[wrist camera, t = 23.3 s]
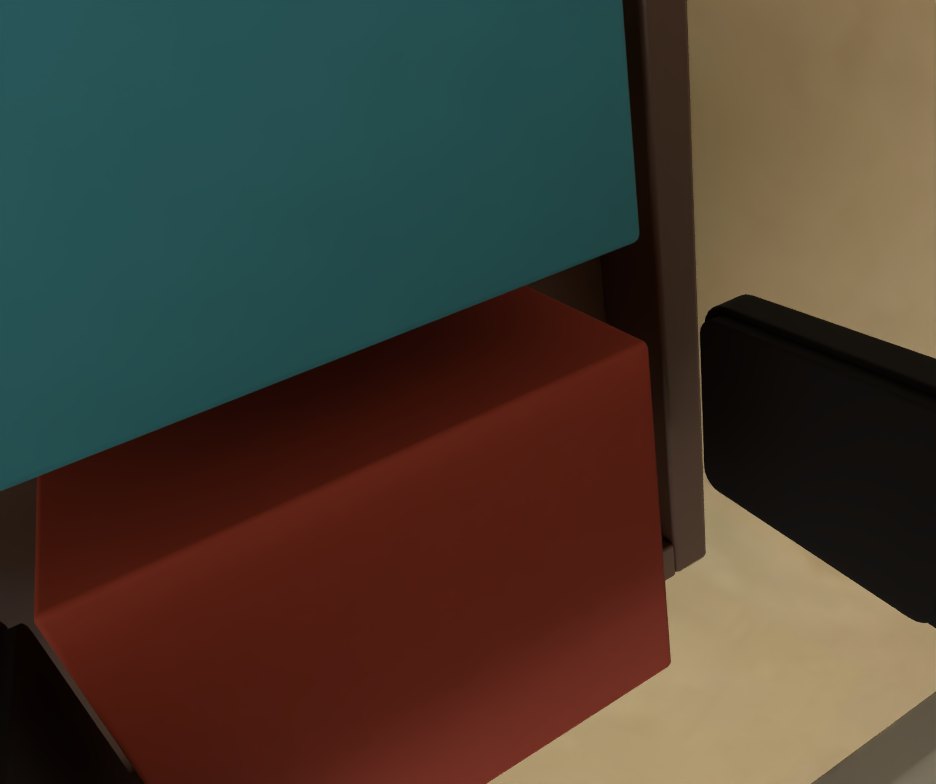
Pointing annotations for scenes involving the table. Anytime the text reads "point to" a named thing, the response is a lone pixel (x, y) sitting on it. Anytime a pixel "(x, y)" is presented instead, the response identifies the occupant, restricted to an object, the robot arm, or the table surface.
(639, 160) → the tray
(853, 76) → the table surface
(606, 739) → the table surface
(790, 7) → the table surface
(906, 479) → the robot arm
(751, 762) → the table surface
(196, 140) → the teal pad
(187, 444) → the brick pad
